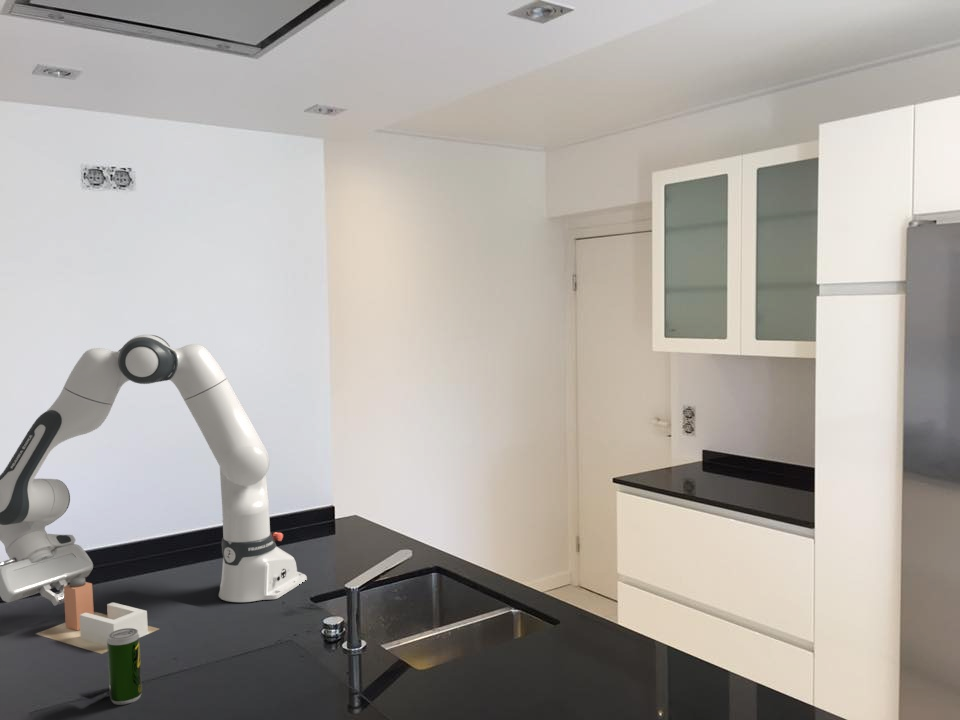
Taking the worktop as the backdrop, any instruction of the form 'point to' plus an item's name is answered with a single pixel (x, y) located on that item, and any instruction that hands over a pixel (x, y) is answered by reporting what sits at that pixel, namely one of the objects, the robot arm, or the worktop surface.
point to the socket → (112, 622)
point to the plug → (77, 601)
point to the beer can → (124, 666)
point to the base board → (78, 636)
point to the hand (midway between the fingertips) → (62, 602)
